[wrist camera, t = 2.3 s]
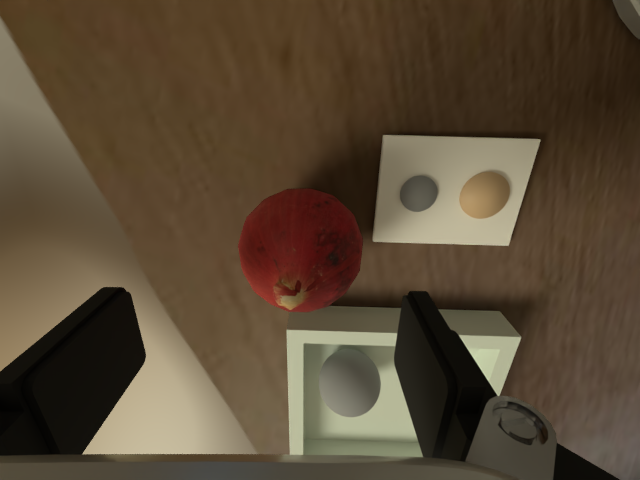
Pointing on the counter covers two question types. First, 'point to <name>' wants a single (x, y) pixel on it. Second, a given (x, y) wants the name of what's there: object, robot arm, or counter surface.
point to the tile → (451, 188)
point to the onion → (300, 249)
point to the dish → (379, 345)
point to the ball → (349, 383)
